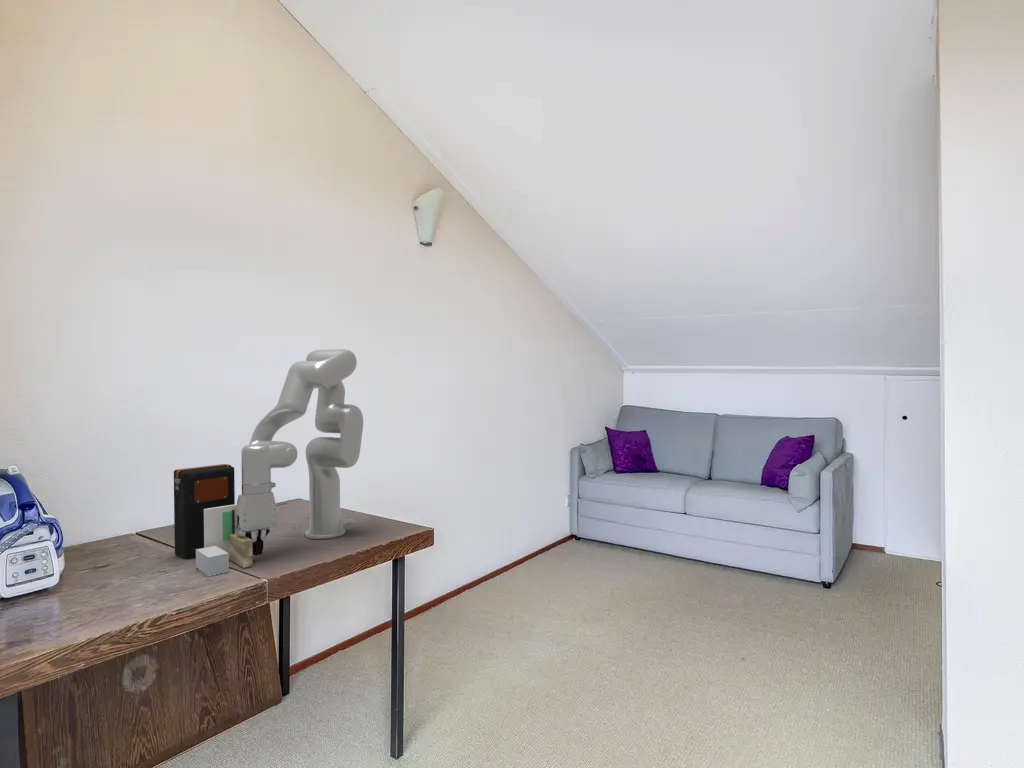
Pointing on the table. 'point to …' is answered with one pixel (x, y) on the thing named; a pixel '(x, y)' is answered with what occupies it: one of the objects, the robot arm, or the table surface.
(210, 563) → the white board with blocks
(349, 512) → the table surface
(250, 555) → the tall beige wooden block
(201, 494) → the voltmeter
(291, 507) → the table surface
